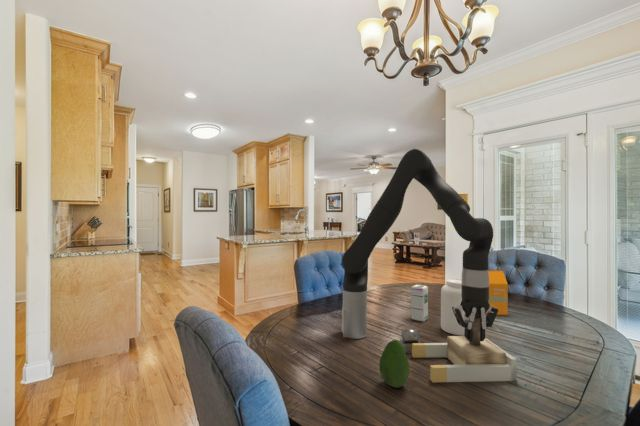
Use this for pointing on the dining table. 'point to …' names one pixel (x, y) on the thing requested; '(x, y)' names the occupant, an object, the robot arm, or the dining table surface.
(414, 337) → the drum
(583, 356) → the dining table surface
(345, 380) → the dining table surface
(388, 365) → the avocado
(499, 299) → the orange juice
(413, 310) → the syrup box
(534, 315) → the dining table surface
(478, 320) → the box with grey peg
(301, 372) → the dining table surface
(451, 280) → the white plastic bottle
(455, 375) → the frame
